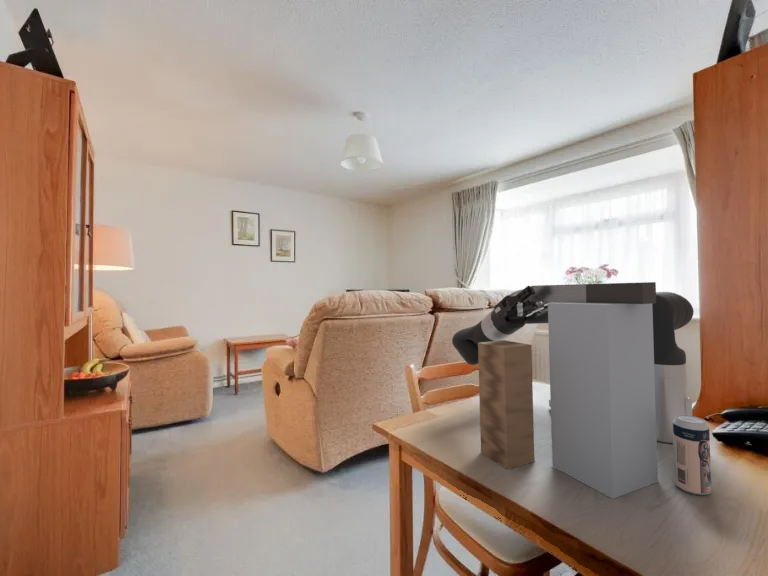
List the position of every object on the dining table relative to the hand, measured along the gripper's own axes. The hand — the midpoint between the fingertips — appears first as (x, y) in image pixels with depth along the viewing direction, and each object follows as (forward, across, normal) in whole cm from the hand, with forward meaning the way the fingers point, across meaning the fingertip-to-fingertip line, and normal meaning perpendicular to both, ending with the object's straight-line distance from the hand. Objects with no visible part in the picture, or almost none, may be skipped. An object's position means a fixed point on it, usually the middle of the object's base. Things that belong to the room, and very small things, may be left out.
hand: (547, 288), depth 77 cm
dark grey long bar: (+6, 0, -7) cm, 9 cm away
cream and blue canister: (+1, -9, -41) cm, 42 cm away
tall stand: (-7, 0, -36) cm, 37 cm away
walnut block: (-19, +11, -29) cm, 36 cm away
